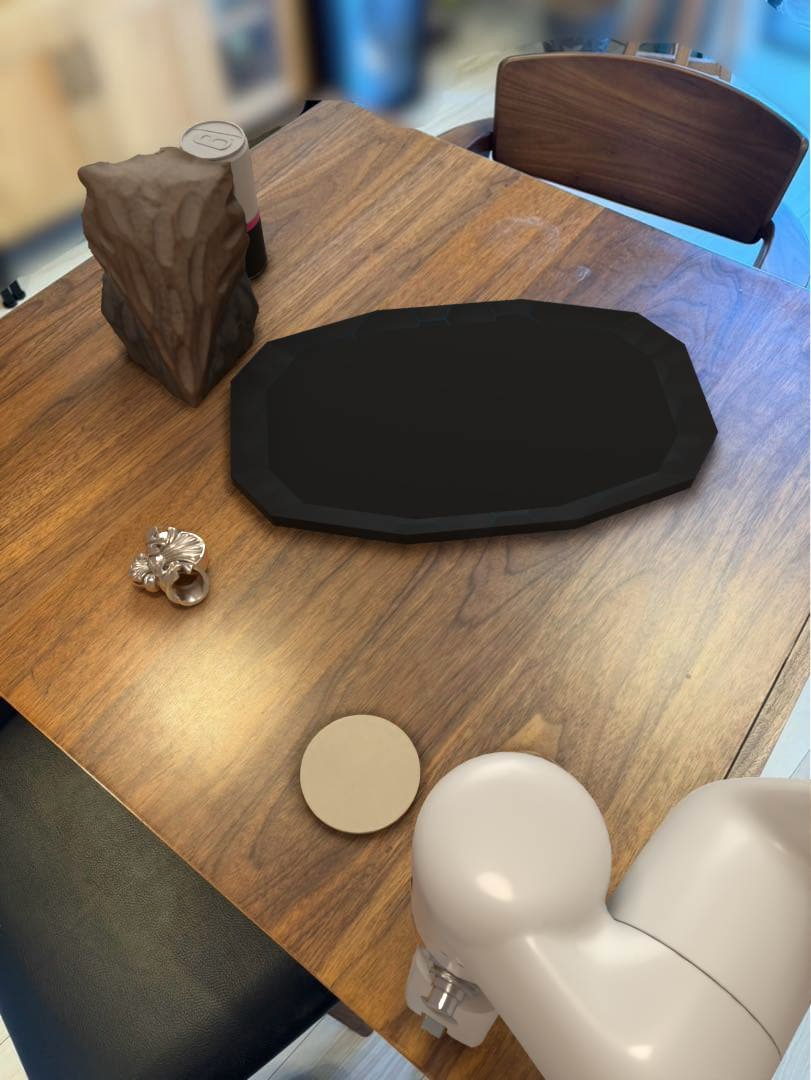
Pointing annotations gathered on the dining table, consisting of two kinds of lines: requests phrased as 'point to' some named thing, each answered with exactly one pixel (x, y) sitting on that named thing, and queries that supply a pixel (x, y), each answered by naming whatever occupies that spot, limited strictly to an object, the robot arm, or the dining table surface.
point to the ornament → (172, 565)
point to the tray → (467, 421)
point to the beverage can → (232, 146)
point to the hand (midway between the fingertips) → (466, 958)
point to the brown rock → (172, 265)
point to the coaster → (360, 774)
